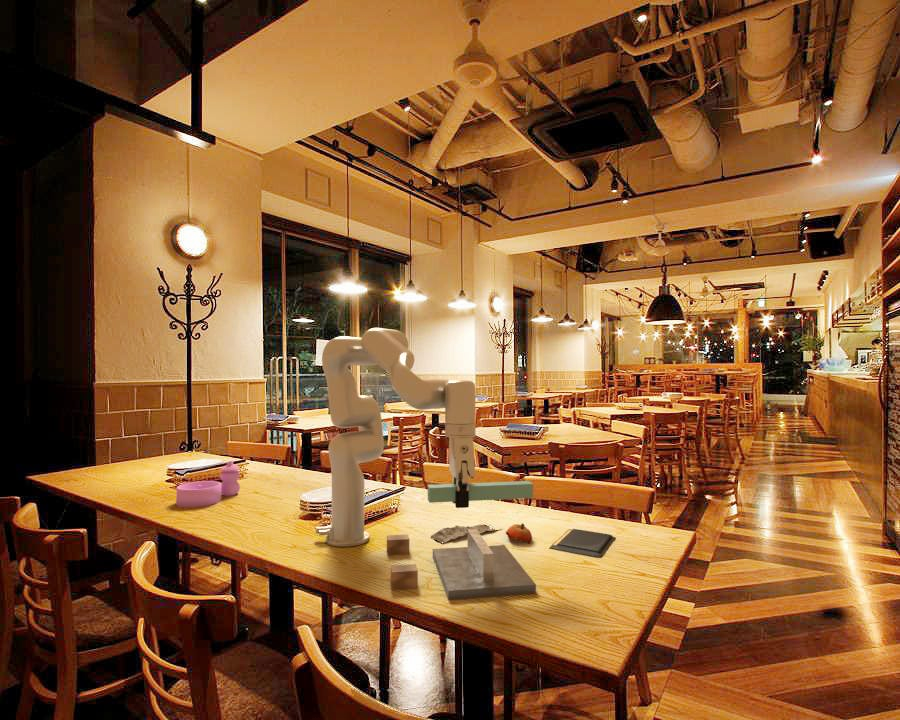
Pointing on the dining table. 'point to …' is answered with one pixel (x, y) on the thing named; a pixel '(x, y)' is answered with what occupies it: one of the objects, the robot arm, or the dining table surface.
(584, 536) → the dark grey flat block
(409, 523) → the dining table surface
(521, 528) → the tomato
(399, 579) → the batten rest
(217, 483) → the container set
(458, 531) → the stone fragment
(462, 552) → the ridge stand
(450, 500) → the teal batten
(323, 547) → the dining table surface
